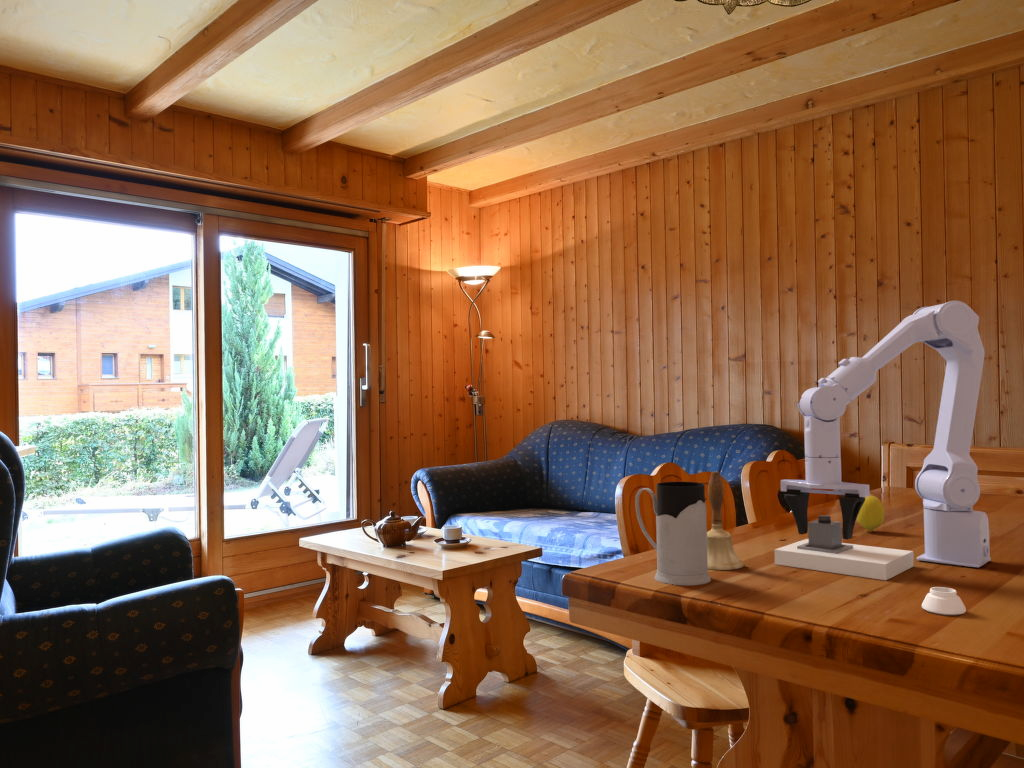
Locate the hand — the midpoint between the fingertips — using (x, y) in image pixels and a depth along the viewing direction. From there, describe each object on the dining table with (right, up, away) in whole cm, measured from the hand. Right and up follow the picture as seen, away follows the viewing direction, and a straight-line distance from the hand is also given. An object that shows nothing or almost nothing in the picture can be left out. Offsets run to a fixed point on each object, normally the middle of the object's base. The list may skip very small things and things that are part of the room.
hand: (824, 536), depth 131 cm
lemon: (+21, -5, +28) cm, 36 cm away
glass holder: (-28, -5, -7) cm, 30 cm away
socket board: (+2, -5, -2) cm, 5 cm away
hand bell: (-18, -5, 0) cm, 19 cm away
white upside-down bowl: (+3, -4, -30) cm, 30 cm away
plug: (0, -5, 0) cm, 5 cm away
